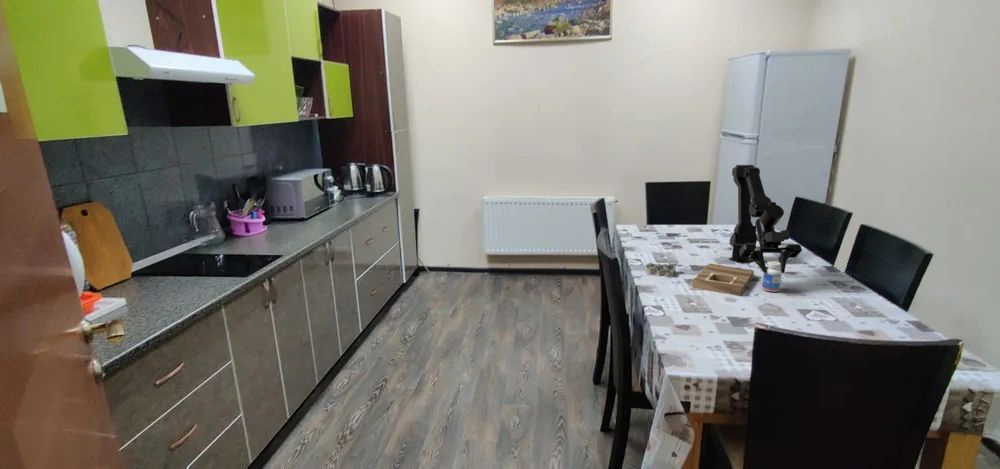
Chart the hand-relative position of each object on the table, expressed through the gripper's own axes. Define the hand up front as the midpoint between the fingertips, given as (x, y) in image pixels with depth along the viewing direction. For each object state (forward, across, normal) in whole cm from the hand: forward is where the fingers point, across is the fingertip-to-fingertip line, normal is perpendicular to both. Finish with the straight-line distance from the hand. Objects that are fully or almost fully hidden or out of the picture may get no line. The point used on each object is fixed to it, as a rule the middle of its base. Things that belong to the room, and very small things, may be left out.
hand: (774, 272), depth 170 cm
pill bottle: (+4, 0, +6) cm, 7 cm away
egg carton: (-6, -35, +17) cm, 39 cm away
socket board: (-1, -14, +11) cm, 18 cm away
